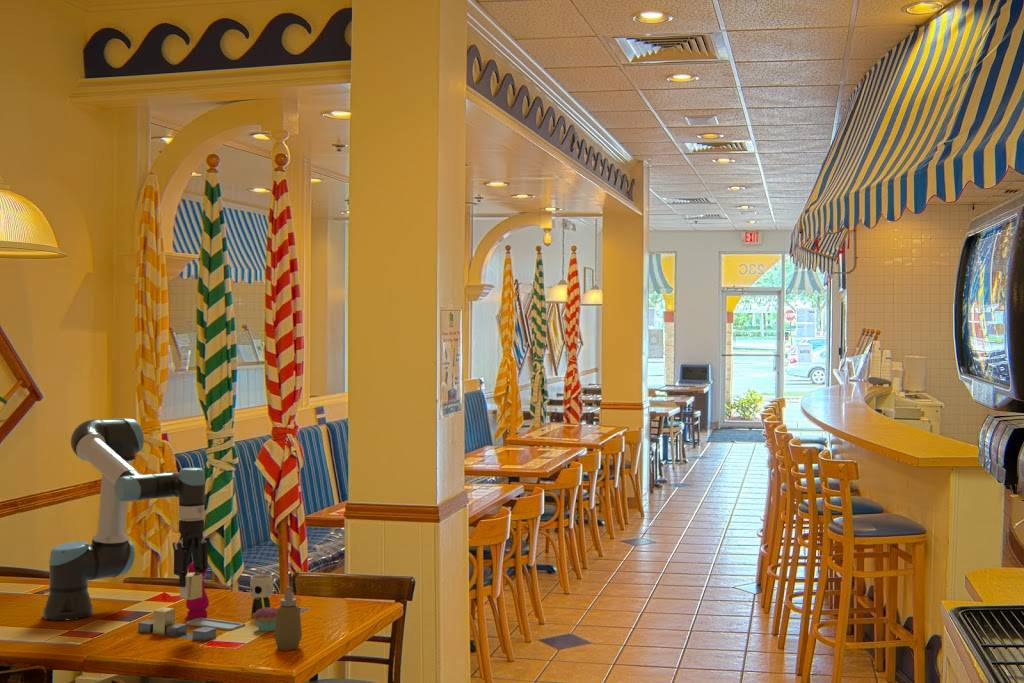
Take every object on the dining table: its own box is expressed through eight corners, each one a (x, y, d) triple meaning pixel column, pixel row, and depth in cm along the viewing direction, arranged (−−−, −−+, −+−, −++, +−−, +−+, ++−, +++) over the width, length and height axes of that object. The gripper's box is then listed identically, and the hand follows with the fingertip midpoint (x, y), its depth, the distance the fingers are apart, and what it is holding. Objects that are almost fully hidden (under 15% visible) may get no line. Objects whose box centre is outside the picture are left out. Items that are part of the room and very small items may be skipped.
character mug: (241, 615, 350) (242, 576, 351) (258, 611, 356) (259, 572, 356) (263, 620, 344) (264, 580, 344) (280, 616, 350) (281, 577, 350)
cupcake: (256, 635, 326) (257, 596, 326) (250, 628, 334) (250, 590, 334) (284, 632, 330) (284, 593, 330) (277, 625, 338) (277, 588, 338)
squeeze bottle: (275, 644, 316) (276, 584, 316) (303, 644, 316) (304, 583, 316) (271, 652, 307) (272, 589, 308) (300, 651, 308) (300, 589, 308)
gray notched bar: (138, 632, 328) (138, 622, 328) (149, 628, 333) (149, 619, 333) (204, 642, 317) (205, 632, 317) (216, 638, 322) (216, 628, 322)
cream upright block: (153, 633, 326) (153, 610, 326) (163, 629, 330) (163, 607, 330) (164, 634, 324) (164, 611, 324) (174, 631, 328) (175, 608, 328)
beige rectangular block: (180, 598, 322) (180, 575, 322) (190, 595, 326) (190, 572, 326) (191, 599, 320) (191, 576, 320) (201, 596, 324) (202, 573, 324)
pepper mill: (202, 620, 344) (202, 558, 344) (181, 618, 345) (182, 557, 346) (212, 615, 351) (213, 554, 351) (192, 613, 352) (193, 553, 353)
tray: (184, 625, 337) (184, 622, 337) (199, 620, 343) (199, 617, 343) (230, 631, 330) (230, 628, 330) (244, 626, 336) (244, 623, 336)
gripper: (180, 523, 314) (178, 602, 314) (221, 516, 330) (220, 591, 330) (161, 521, 318) (159, 600, 317) (202, 514, 333) (201, 588, 333)
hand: (190, 595), depth 323 cm, fingers closed on beige rectangular block, 4 cm apart
